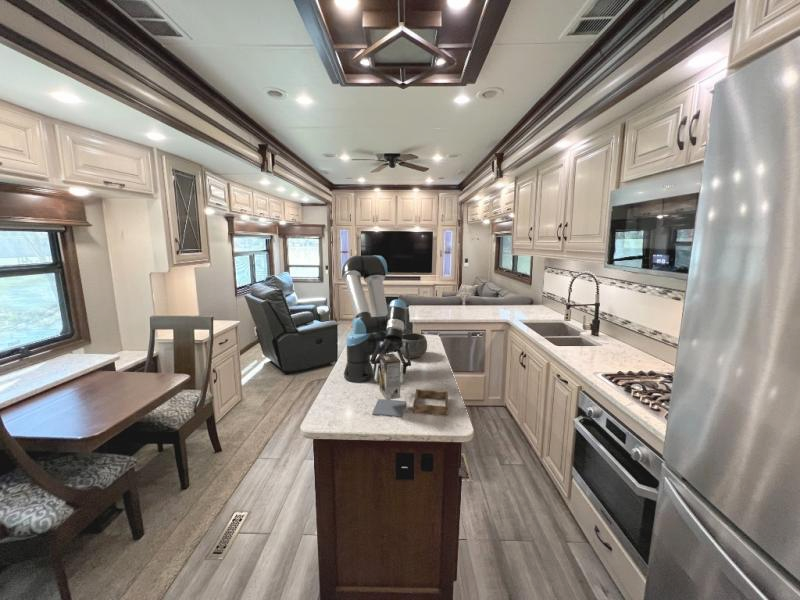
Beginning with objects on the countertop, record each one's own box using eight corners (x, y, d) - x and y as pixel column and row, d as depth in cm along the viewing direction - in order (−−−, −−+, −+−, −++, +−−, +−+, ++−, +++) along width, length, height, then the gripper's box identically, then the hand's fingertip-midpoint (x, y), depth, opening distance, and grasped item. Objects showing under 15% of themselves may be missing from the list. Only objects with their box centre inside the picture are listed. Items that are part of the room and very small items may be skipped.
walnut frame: (412, 412, 131) (413, 404, 131) (416, 396, 145) (416, 389, 144) (447, 415, 129) (447, 407, 129) (447, 398, 143) (447, 391, 142)
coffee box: (379, 391, 136) (378, 354, 133) (393, 388, 138) (393, 352, 136) (385, 400, 128) (385, 362, 125) (400, 398, 130) (400, 360, 127)
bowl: (425, 363, 183) (426, 341, 181) (394, 361, 186) (394, 340, 184) (428, 352, 201) (428, 332, 198) (399, 350, 203) (399, 331, 201)
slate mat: (372, 414, 130) (372, 413, 129) (378, 400, 141) (378, 398, 141) (401, 417, 128) (401, 415, 128) (405, 402, 140) (405, 401, 139)
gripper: (368, 326, 140) (359, 375, 127) (419, 328, 137) (415, 378, 124) (371, 334, 146) (363, 382, 133) (420, 336, 143) (416, 385, 130)
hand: (388, 380), depth 129 cm, fingers closed on coffee box, 9 cm apart
